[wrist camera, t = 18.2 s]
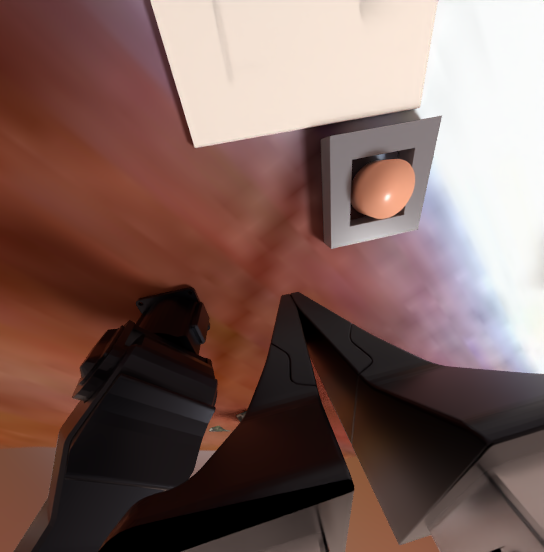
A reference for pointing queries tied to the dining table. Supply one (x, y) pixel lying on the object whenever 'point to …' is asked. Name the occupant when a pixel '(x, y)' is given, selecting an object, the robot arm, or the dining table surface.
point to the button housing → (345, 147)
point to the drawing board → (293, 62)
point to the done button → (382, 188)
